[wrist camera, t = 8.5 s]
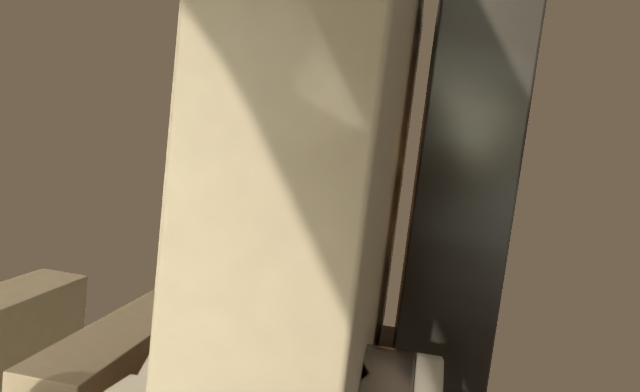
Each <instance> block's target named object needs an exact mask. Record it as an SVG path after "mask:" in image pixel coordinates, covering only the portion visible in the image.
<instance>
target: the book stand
mask: <svg viewBox="0 0 640 392" xmlns="http://www.w3.org/2000/svg"><path fill="white" fill-rule="evenodd" d="M546 1H547V0H439V6H438V12H437V18H436V25H435V32H434V41H433V47H432V55H431V62H430V70H429V77H428V84H427V92H426V99H425V107H424V114H423V122H422V129H421V137H420V144H419V151H418V159H417V166H416V174H415V181H414V189H413V196H412V204H411V211H410V219H409V226H408V233H407V241H406V248H405V256H404V263H403V271H402V279H401V285H400V293H399V300H398V308H397V316H396V323H395V327H390V326H384V325H383V326H382V331H381V337H380V342H379V346H384V347H390V348H397V349H403V350H409V351H416V353H417V352H418V353H424V354H430V355H436V356H442V357H443V360H444V380H443V392H487V385H488V379H489V372H490V366H491V359H492V352H493V346H494V339H495V333H496V327H497V320H498V314H499V307H500V301H501V294H502V288H503V281H504V275H505V268H506V262H507V254H508V249H509V242H510V236H511V229H512V222H513V216H514V210H515V203H516V196H517V190H518V183H519V177H520V171H521V164H522V157H523V151H524V145H525V138H526V132H527V124H528V119H529V112H530V105H531V99H532V93H533V86H534V80H535V72H536V66H537V60H538V53H539V47H540V40H541V34H542V27H543V21H544V14H545V8H546Z"/></svg>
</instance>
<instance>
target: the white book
mask: <svg viewBox="0 0 640 392" xmlns="http://www.w3.org/2000/svg"><path fill="white" fill-rule="evenodd" d="M423 4H424V0H180V5H179V17H178V30H177V40H176V51H175V52H176V53H175V63H174V75H173V86H172V97H171V109H170V120H169V132H168V143H167V155H166V166H165V178H164V189H163V200H162V212H161V224H160V235H159V246H158V258H157V269H156V281H155V292H154V304H153V315H152V327H151V338H150V350H149V361H148V372H147V384H146V392H358V390H359V384H360V381H361V380H362V371H363V361H364V356H365V350H366V346H367V344H371V345H378V346H379V342H380V337H381V331H382V326H383V321H384V315H385V308H386V300H387V293H388V285H389V277H390V270H391V262H392V255H393V247H394V239H395V232H396V224H397V217H398V209H399V201H400V194H401V186H402V179H403V171H404V163H405V156H406V148H407V140H408V133H409V125H410V118H411V109H412V102H413V95H414V87H415V79H416V72H417V65H418V56H419V49H420V42H421V34H422V26H423Z"/></svg>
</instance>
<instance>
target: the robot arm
mask: <svg viewBox="0 0 640 392" xmlns="http://www.w3.org/2000/svg"><path fill="white" fill-rule="evenodd" d="M148 361H149V355H148V357H147V359H146V361H145V363H144V364H143V366H142V368H141V370H140V371H139V373H138V375H135V374H130V375H128V376H127V377H125V378H123V379H122V380H120V381H119V382H117V383H116V384H114V385H113V386H111V387H110V388H108V389H106V390H105V391H103V392H146V384H147V372H148ZM443 380H444V360H443V357H442V356H436V355H430V354H424V353H418V352H417V353H416V351H409V350H403V349H397V348H390V347H384V346H378V345H371V344H367V346H366V350H365V356H364V361H363V371H362V380H361V381H360V384H359V390H358V392H443Z"/></svg>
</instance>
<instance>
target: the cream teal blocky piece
mask: <svg viewBox="0 0 640 392" xmlns="http://www.w3.org/2000/svg"><path fill="white" fill-rule="evenodd" d="M86 290H87V276H85V275H79V274H72V273H67V272H61V271H54V270H49V269H43V268H42V269H39V270H36V271H33V272H30V273H27V274H24V275H21V276H18V277H15V278H11V279H8V280H5V281H2V282H0V392H103V391H105V390H106V389H108V388H110V387H111V386H113V385H114V384H116V383H117V382H119V381H120V380H122V379H123V378H125V377H127V376H128V375H130V374H135V375H138V373H139V371H140V370H141V368H142V366H143V364H144V363H145V361H146V359H147V357H148V355H149V350H150V338H151V327H152V315H153V304H154V292H155V289H154V290H152V291H151V292H149V293H147V294H145V295H143V296H141V297H140V298H138V299H136V300H134V301H132V302H130V303H128V304H127V305H125V306H123V307H121V308H120V309H118V310H116V311H114V312H112V313H110V314H108V315H106V316H105V317H103V318H101V319H99V320H97V321H96V322H94V323H92V324H90V325H88V326H86V327H84V318H85V305H86Z"/></svg>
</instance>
